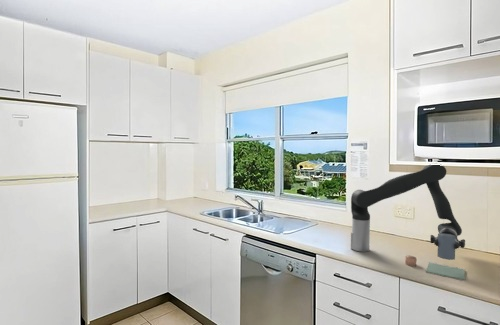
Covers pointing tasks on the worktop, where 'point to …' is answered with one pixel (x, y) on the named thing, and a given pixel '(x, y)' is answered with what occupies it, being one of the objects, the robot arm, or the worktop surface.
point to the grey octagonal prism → (446, 246)
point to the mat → (446, 271)
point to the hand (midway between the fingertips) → (446, 245)
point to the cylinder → (410, 260)
